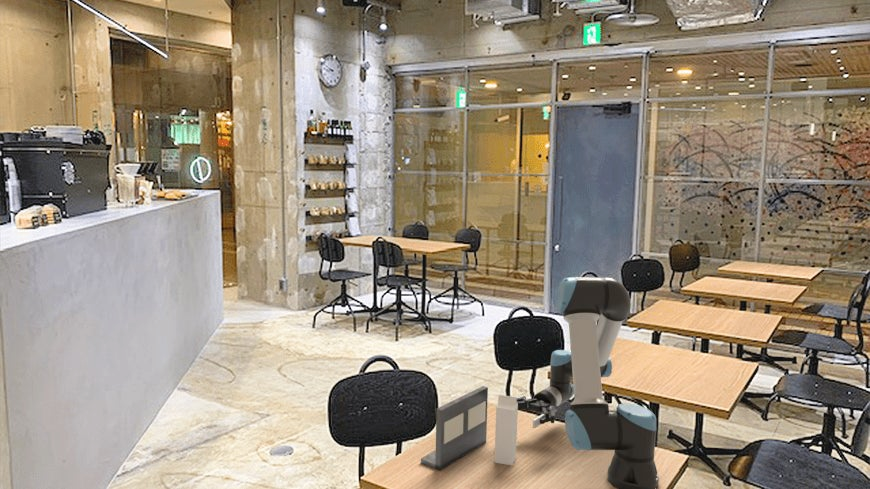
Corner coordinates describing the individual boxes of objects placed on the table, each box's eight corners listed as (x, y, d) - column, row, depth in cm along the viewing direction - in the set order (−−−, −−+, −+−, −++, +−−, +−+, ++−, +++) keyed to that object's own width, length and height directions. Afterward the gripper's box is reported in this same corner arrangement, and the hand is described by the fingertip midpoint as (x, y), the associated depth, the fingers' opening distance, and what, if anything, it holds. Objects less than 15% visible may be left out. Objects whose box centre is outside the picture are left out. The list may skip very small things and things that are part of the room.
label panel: (486, 442, 217) (488, 387, 215) (441, 471, 197) (442, 410, 194) (467, 435, 222) (468, 381, 220) (420, 462, 202) (421, 403, 199)
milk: (498, 454, 209) (500, 391, 206) (516, 457, 207) (518, 393, 204) (494, 463, 203) (496, 397, 200) (512, 466, 201) (514, 400, 198)
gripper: (578, 419, 218) (548, 440, 202) (516, 401, 234) (484, 419, 217) (579, 398, 217) (549, 417, 201) (517, 382, 233) (485, 398, 216)
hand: (515, 418), depth 209 cm, fingers open, 13 cm apart
